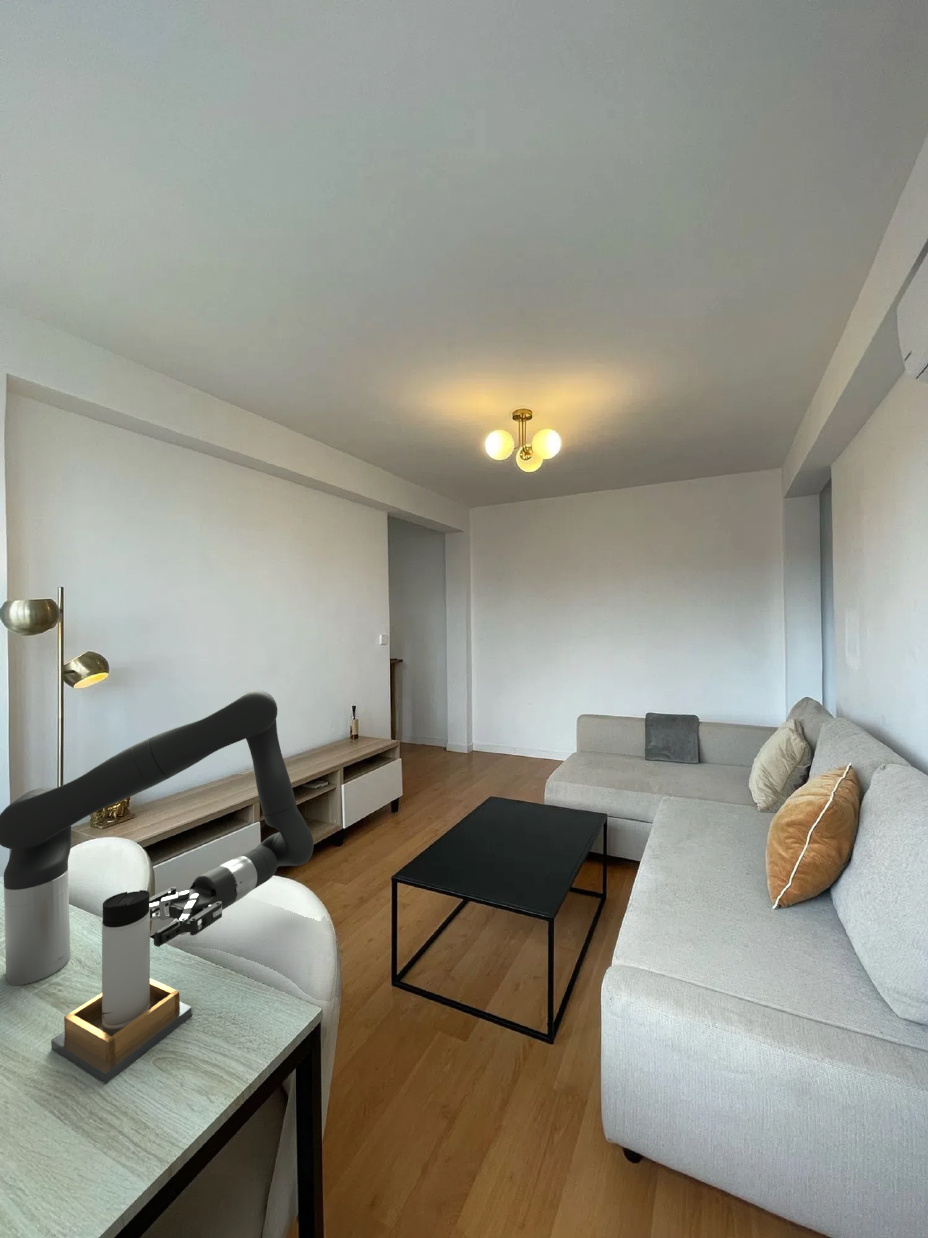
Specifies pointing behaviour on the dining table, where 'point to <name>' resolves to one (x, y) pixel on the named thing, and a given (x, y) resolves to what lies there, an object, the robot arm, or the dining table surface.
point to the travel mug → (125, 959)
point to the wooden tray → (118, 1033)
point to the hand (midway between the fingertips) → (138, 934)
